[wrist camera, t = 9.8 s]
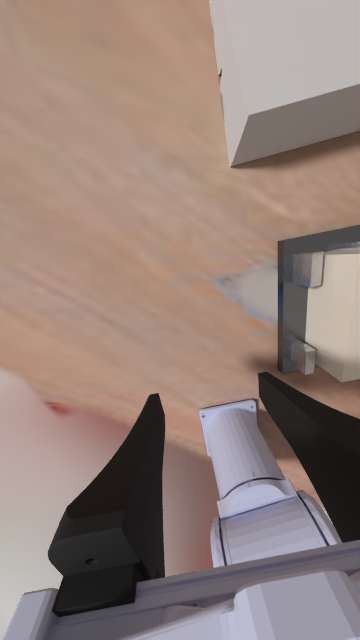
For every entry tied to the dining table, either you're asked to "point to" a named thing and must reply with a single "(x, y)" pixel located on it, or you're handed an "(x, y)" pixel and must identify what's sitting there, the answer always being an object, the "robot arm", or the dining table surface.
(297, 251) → the rack
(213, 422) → the robot arm
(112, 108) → the dining table surface
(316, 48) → the long grey wedge ramp
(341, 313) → the cream rectangular block
